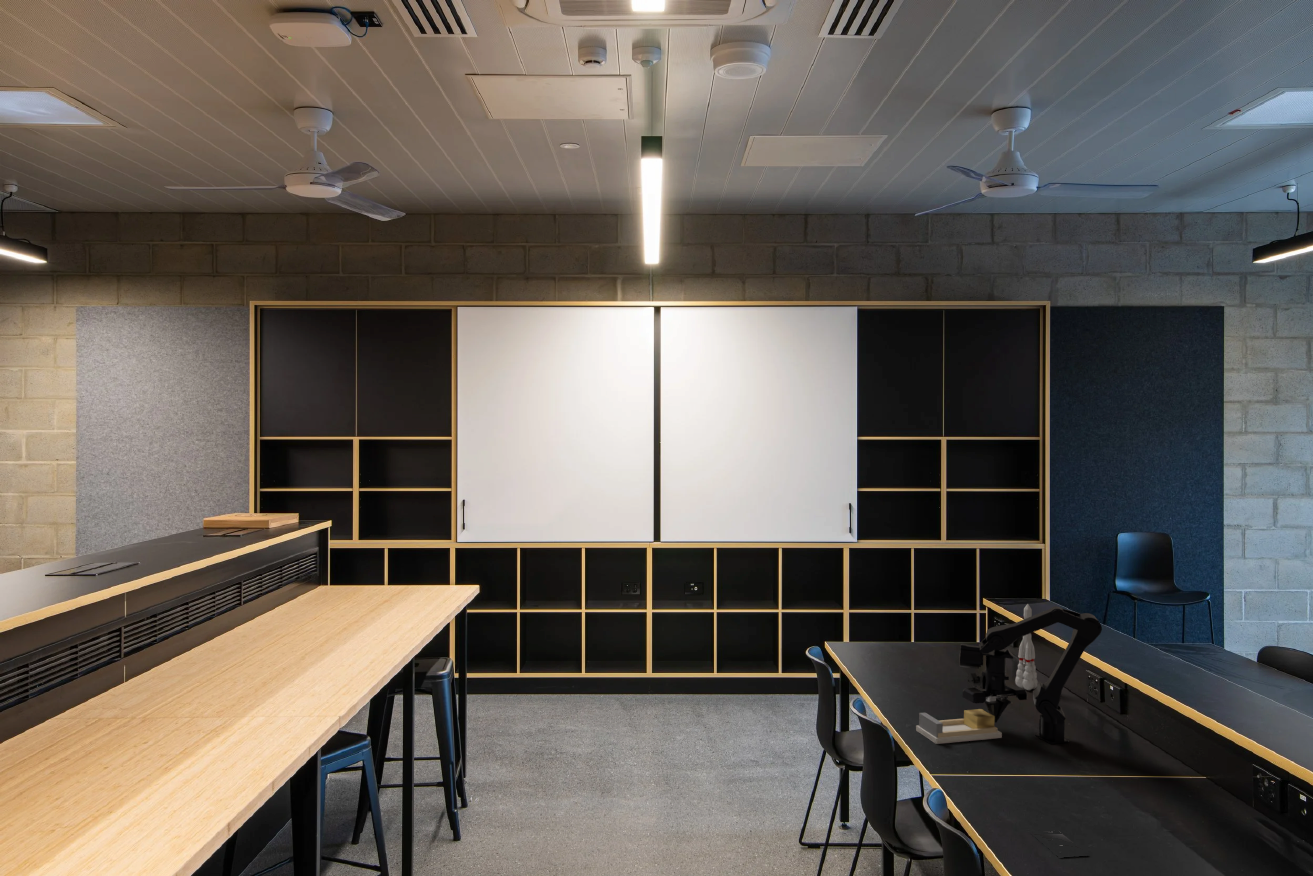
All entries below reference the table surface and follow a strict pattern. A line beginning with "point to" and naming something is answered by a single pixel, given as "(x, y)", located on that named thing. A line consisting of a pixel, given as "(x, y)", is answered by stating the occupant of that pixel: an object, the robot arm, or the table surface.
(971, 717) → the block
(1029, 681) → the rocket model
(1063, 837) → the solid state drive
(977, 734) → the track
